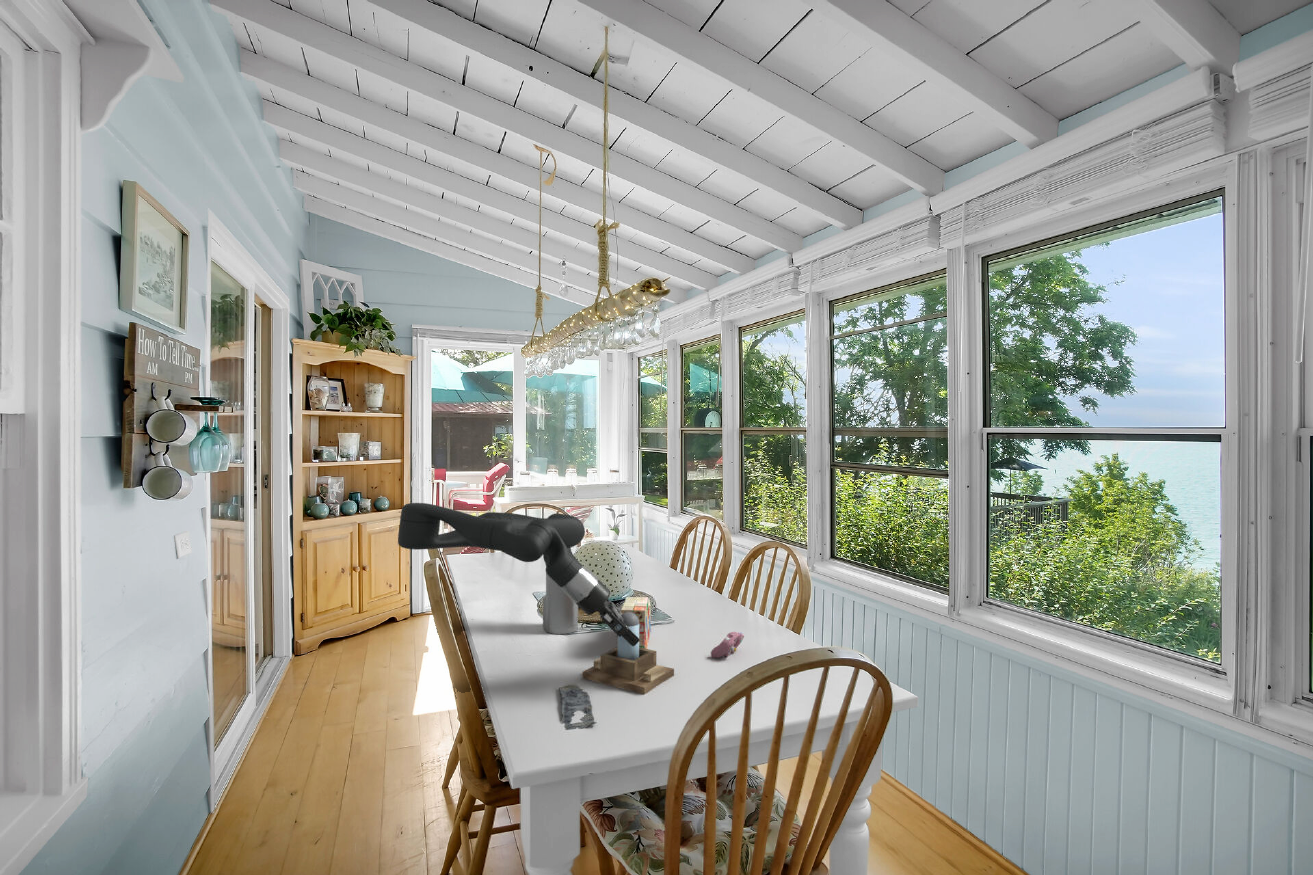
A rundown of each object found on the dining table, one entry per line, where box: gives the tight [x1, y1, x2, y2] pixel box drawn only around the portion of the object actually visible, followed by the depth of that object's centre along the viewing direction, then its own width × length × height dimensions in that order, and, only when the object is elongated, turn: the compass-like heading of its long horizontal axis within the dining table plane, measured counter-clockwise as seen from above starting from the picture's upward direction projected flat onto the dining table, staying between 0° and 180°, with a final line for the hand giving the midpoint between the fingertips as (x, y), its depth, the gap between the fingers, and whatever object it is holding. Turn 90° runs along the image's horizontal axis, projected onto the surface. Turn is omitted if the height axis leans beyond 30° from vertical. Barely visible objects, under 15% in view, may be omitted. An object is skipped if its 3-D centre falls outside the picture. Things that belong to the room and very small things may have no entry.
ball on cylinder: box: [617, 612, 639, 661], centre depth 149 cm, size 5×5×14 cm
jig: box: [582, 646, 675, 695], centre depth 149 cm, size 17×13×6 cm
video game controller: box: [710, 630, 745, 659], centre depth 165 cm, size 10×5×7 cm, turn 150°
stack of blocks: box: [620, 596, 652, 649], centre depth 173 cm, size 21×6×12 cm, turn 176°
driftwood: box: [558, 683, 598, 730], centre depth 133 cm, size 21×7×2 cm, turn 11°
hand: (634, 637), depth 149 cm, fingers open, 8 cm apart
